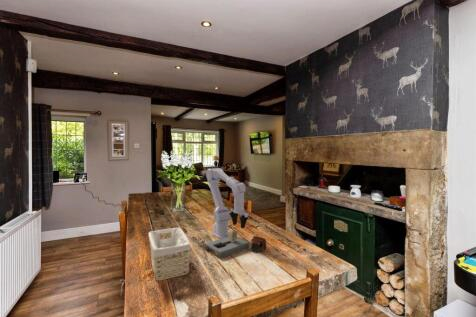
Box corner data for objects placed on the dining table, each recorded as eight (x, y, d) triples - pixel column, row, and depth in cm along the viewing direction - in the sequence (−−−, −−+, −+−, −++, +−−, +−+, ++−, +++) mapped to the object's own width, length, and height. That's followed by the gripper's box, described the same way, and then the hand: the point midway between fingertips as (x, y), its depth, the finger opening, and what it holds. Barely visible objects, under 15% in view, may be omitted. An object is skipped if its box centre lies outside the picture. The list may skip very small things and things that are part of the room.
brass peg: (227, 247, 135) (227, 231, 135) (233, 245, 138) (233, 230, 138) (231, 249, 132) (231, 234, 132) (237, 247, 135) (238, 232, 134)
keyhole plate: (219, 259, 121) (219, 252, 121) (204, 249, 132) (204, 243, 131) (248, 248, 134) (248, 242, 133) (233, 240, 144) (233, 235, 144)
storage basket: (191, 275, 105) (191, 243, 105) (153, 284, 98) (152, 249, 98) (180, 253, 127) (180, 226, 126) (148, 259, 120) (147, 231, 119)
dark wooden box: (245, 249, 134) (249, 234, 137) (258, 254, 137) (261, 239, 140) (257, 252, 124) (261, 236, 127) (271, 256, 127) (274, 241, 130)
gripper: (252, 205, 137) (252, 228, 137) (236, 200, 148) (236, 221, 149) (242, 206, 132) (242, 230, 133) (227, 201, 144) (227, 224, 144)
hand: (238, 226), depth 141 cm, fingers open, 7 cm apart
